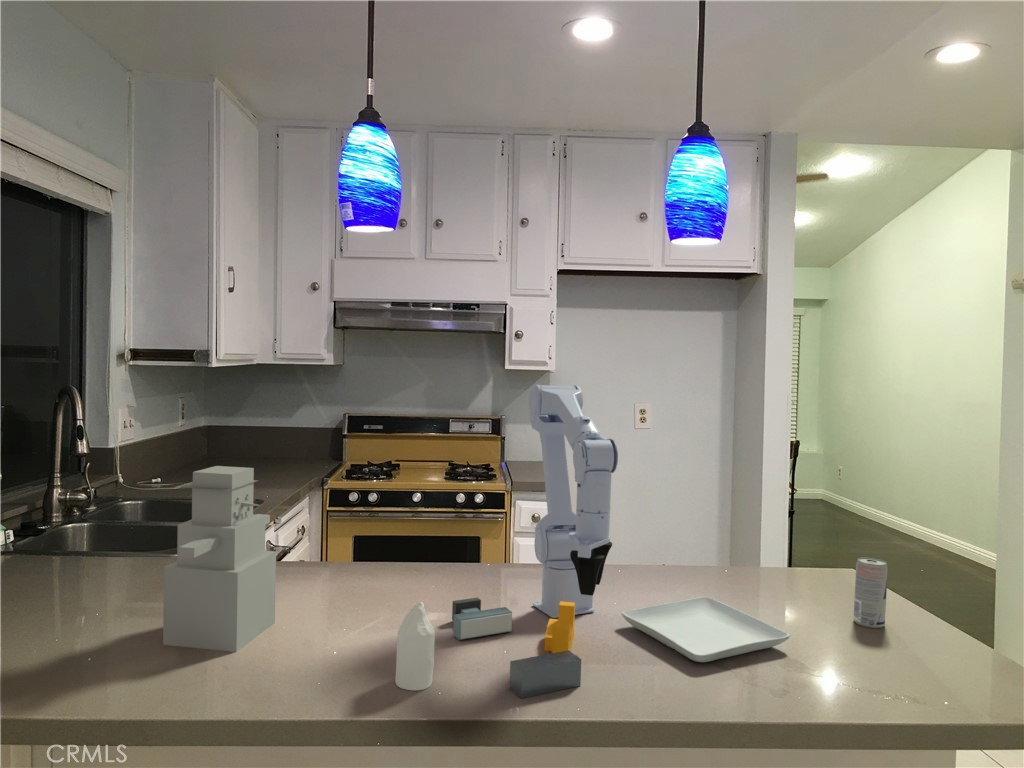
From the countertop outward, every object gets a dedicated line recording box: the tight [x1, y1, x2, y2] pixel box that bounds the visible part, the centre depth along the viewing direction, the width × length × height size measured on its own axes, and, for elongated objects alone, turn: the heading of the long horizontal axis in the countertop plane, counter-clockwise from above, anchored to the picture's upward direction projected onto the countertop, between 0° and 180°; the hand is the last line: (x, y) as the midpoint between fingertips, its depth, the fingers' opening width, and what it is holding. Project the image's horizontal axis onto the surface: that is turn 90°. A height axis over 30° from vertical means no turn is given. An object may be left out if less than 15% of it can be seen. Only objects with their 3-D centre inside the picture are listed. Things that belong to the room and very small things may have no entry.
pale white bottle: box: [395, 601, 436, 691], centre depth 107 cm, size 6×12×6 cm
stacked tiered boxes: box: [162, 465, 277, 653], centre depth 122 cm, size 13×24×28 cm, turn 171°
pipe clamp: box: [544, 601, 576, 653], centre depth 120 cm, size 12×4×6 cm, turn 170°
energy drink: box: [853, 557, 889, 629], centre depth 137 cm, size 5×5×12 cm
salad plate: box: [620, 595, 791, 663], centre depth 127 cm, size 21×21×3 cm
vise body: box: [509, 650, 582, 699], centre depth 107 cm, size 10×4×4 cm, turn 117°
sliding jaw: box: [451, 597, 513, 641], centre depth 128 cm, size 10×10×4 cm
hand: (590, 588), depth 123 cm, fingers open, 5 cm apart
